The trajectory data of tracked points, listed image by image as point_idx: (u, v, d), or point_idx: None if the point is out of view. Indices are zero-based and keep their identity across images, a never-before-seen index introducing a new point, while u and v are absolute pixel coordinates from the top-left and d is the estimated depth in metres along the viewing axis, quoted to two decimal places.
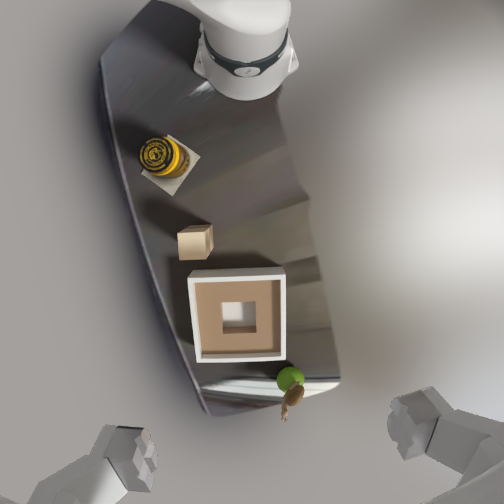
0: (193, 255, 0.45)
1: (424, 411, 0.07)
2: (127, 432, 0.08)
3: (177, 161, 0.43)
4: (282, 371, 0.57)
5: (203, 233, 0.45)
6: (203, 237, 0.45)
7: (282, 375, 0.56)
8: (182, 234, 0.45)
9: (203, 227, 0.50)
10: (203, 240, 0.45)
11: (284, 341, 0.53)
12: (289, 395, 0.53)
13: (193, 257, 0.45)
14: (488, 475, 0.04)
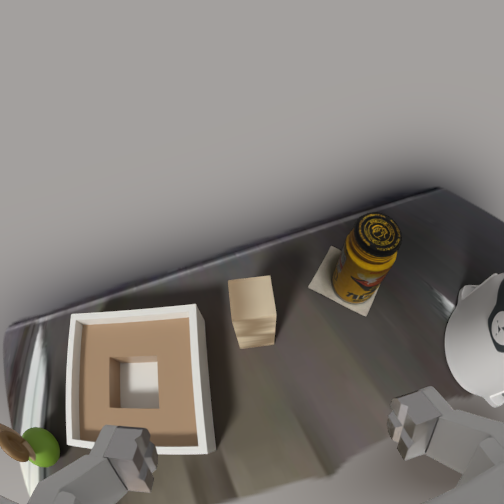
0: (236, 301, 0.28)
1: (424, 411, 0.07)
2: (127, 432, 0.08)
3: (370, 268, 0.30)
4: (52, 438, 0.27)
5: (273, 313, 0.28)
6: (267, 313, 0.28)
7: (46, 436, 0.26)
8: (268, 282, 0.29)
9: None
10: (262, 314, 0.28)
11: None
12: (14, 438, 0.22)
13: (233, 300, 0.28)
14: (488, 475, 0.04)
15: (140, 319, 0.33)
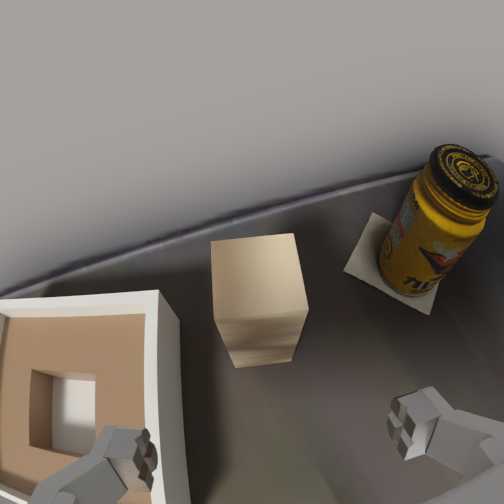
0: (226, 281, 0.14)
1: (424, 411, 0.07)
2: (127, 432, 0.08)
3: (457, 231, 0.16)
4: None
5: (302, 307, 0.13)
6: (289, 307, 0.13)
7: None
8: (291, 246, 0.15)
9: None
10: (278, 308, 0.13)
11: None
12: None
13: (219, 280, 0.14)
14: (488, 475, 0.04)
15: (75, 313, 0.19)
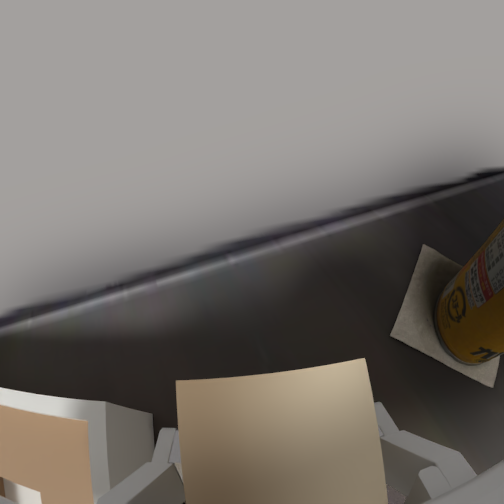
0: (213, 481, 0.05)
1: None
2: None
3: None
4: None
5: None
6: None
7: None
8: (361, 393, 0.06)
9: None
10: None
11: None
12: None
13: (198, 478, 0.05)
14: (488, 475, 0.04)
15: (4, 405, 0.10)
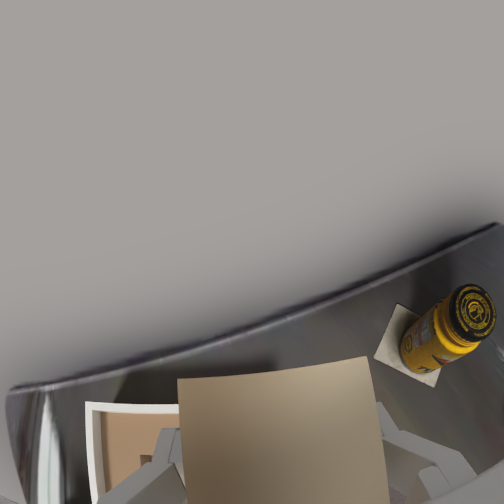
0: (214, 481, 0.05)
1: None
2: None
3: (459, 351, 0.21)
4: None
5: None
6: None
7: None
8: (363, 391, 0.06)
9: None
10: None
11: None
12: None
13: (200, 477, 0.05)
14: (488, 475, 0.04)
15: (176, 413, 0.25)
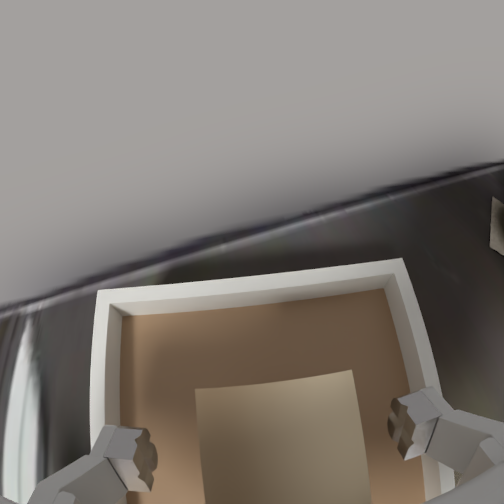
0: (226, 472, 0.06)
1: (424, 411, 0.07)
2: (127, 433, 0.08)
3: None
4: None
5: None
6: None
7: None
8: (348, 398, 0.07)
9: None
10: None
11: None
12: None
13: (214, 469, 0.06)
14: (488, 475, 0.04)
15: (277, 297, 0.15)
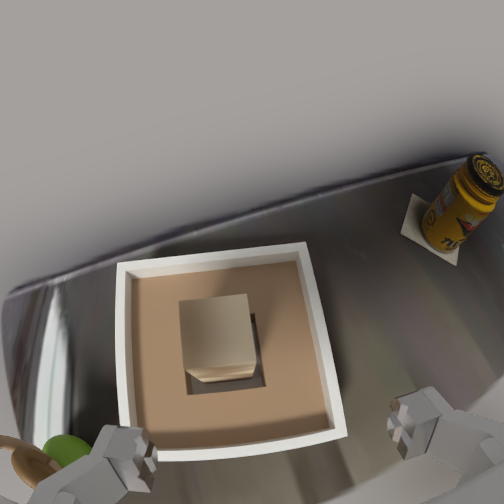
0: (191, 336, 0.17)
1: (424, 411, 0.07)
2: (127, 432, 0.08)
3: (481, 208, 0.25)
4: (89, 448, 0.19)
5: (252, 359, 0.16)
6: (241, 359, 0.16)
7: (81, 448, 0.18)
8: (244, 306, 0.18)
9: None
10: (233, 360, 0.16)
11: (174, 458, 0.17)
12: (36, 459, 0.14)
13: (186, 336, 0.17)
14: (488, 475, 0.04)
15: (225, 265, 0.26)
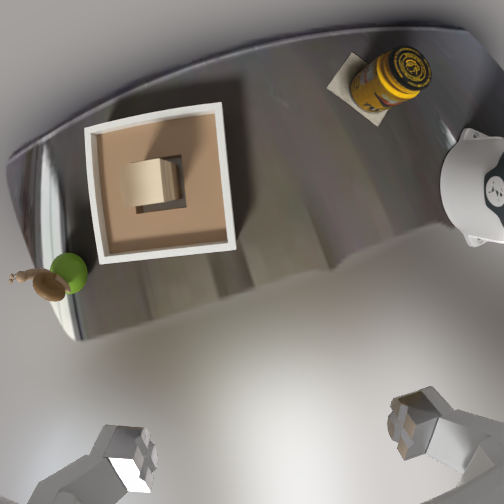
0: (126, 188, 0.26)
1: (424, 411, 0.07)
2: (127, 432, 0.08)
3: (396, 94, 0.27)
4: (79, 259, 0.36)
5: (161, 200, 0.27)
6: (155, 201, 0.27)
7: (74, 260, 0.35)
8: (157, 166, 0.26)
9: (175, 190, 0.32)
10: (150, 201, 0.27)
11: (128, 259, 0.33)
12: (47, 278, 0.31)
13: (124, 187, 0.26)
14: (488, 475, 0.04)
15: (161, 119, 0.31)
